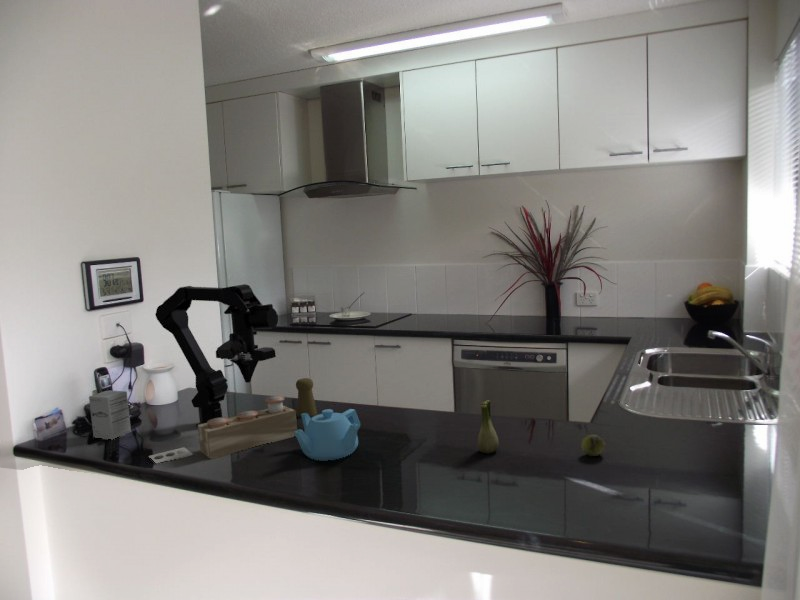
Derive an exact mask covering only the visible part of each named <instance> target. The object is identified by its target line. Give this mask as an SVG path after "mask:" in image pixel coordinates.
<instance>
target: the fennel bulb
mask: <svg viewBox="0 0 800 600" xmlns="http://www.w3.org/2000/svg"><path fill="white" fill-rule="evenodd" d="M480 411H481V421H482V424H481V425H480V426H481V427H480V430H479V432H478V433H479V434H478V437H477V450H478V451H479V452H480V453H482V454H491V453H494V452H496V451H497V450H498V448H499V445H500V442H499V437H498V434H497V432H496V430H495V427H494V426H493V423H492V414H491V400H485V401H483V402H482V403H481V409H480Z"/></svg>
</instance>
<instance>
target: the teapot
mask: <svg viewBox="0 0 800 600" xmlns="http://www.w3.org/2000/svg"><path fill="white" fill-rule="evenodd" d="M356 411H357V410H356V409H352V408H349V409H347V410H345V411H344V412H342V413H341V412H334V410H333V409H331V408H328V409H323V410H321V413H320V414H316V415H314V416H311V417H310V416H309V415H308V414H307V413H303V414H301V417H300V418H301V421H302V425H303V429H300V428H299V429H297V431H295V432H294V433H295V435H296V436H295V437H296V439H297V441H298V443H299V446H300V447H301V448H300V449H301V450H302V452H303V454H304V455H305V456H307V457H308V458H309V459H310V458H311V459H310V460H313V459H314V461H318V460H319V462H320V461H321V462H326V461H327V462H328V460H331V461H336V459H337V460H341V459H344V458H347V457H349V456H351V455H352V454H353V453H354V451H356V449H357V448H358V445H359V437H358V430H359V429H360V427H361V426H362V425H361V421H360V420H359V417H358V414H357V412H356ZM303 430H304V431H303ZM350 454H351V455H350ZM348 455H349V456H348ZM346 456H347V457H346ZM343 457H344V458H343ZM340 458H341V459H340Z"/></svg>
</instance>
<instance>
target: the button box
mask: <svg viewBox="0 0 800 600" xmlns="http://www.w3.org/2000/svg"><path fill="white" fill-rule="evenodd" d="M256 411H257V413H258V415H257V416H256V418H255V419H251V420H247V421H241V420H240V418H238V417H237V415H235V416H230V417H227V418H228V423H226V426H222V427H217V428H213V429H212V428H211V427H210V426H209V425H208V424H207V423H204V424H200V425H198V426H197V432H198V440H199V451H200V453H202V454H204V455H205V456H206V457H208V458H209V459H211V460H212V459H216V458H220V457H223V456H228V455H231V454H235V453H238V451H239V452H242V451H241V450H243V451H246V450H249V449H248V448H250V449H253V448H252V447H254V448H256V447H255V446H258V447H260V446H259V445H261V446H263V445H262V444H265V445H267V444H266V443H269V444H272V443H275V442H280V441H283V440H287V439H290V438H291V439H292V438H294V436H295V437H296V435H295V433H294V432H295V431H297V430H298V421H297V411H296V410H295V409H293V408H290V407H288V406H287V405H284V404H283V412H280V413H276V414H272V415H271V414H269V413H268V408H265V409H261V410H256ZM271 442H272V443H271ZM245 449H246V450H245Z"/></svg>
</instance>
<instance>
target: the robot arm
mask: <svg viewBox="0 0 800 600" xmlns="http://www.w3.org/2000/svg"><path fill="white" fill-rule="evenodd" d="M192 301H202V302H219V303H221V304H223V305H225V306H227V308H226V310H225V311H224V312H223V314H224V315H230V318H231V326H232V333H230V334H229V337H228V338H229V339H228V340H226V341H225V342H223V343H222V344H221V345H220V346H218V347H217V348H216V350H215V358H216V359H221V360H223V359H225V360H228V361H230V362H231V363H234V364H235V365H236V366H237V367H238V369H239V371H240V374H241V375H242V377H243V380H244V382H245V383H250V382H251V381H252V379H253V375H254V372H255V370H256V368H257V366H258V363H259V362H263V361H267V360H271V359H273V358H276V349H274V348H273V347H270V346H269V347H266V346H263V347H259V345H258V344H255V336H256V335H258V333H257V332H258V331H257V330H256V329H259V330H260V329H264V330H265V329H275V328H276V327H277V325H278V322H279V315H278V313H277V311H276V309H275V308H274V305H273V304H272V303H268V304H262V303H261V301H260V300H259V298H258V297H257V296H256V295H255V293H254V291H253V289H252V287H251V286H250V285H249V284H246V283H245V284H238V285H232V286H226V287H209V286H208V287H207V286H191V285H186V286H180V287H178V288H177V289H176V290H175V291H174V293H173V294H172V295H170V296H169V297H168V298H167V299H165V300H164V301H163V303H162V304H160V305H158V306H157V308H156V312H155V318H156V320H157V321H158V323H159V324H160V325H161V326H162V327H163V328H164V330H166V331H168V332H170V334H172V335H173V337H174V339H175V341H176V343H177V344H178V347H179V348H180V350H181V352H182V353H183V356H184V357H185V360H186V361H187V363H188V365H189V366H190V368H191V371H192V373H193V374H194V375H195V388H196V391H197V392H196V394H195V395H194V396H193V398H192V399H191V403H192V407H193V408H198V419H199V422H196V423H195V426H196V427H198V425H200V424H204V423H207V421H209V420H211V419H214V418H220V417H223V410H222V405H221V403H220V402H221V401H224V400H225V397H226V394H227V392H228V388H229V387H228V386H229V385H228V383H227V382H228V379H226V377H225V375H224V373H223V371H222V370H221V369H218V370H215V369H214V368H213V367H211V365H210V363H209V362H208V359H207V358H206V356H205V354H204V352H203V351H202V348H201V347H200V345H199V343H198V342H197V340H196V338H195V336H194V335H193V332H192V331H191V328H190V326H189V315H188V312H187V311H188V310H189V309H190V307H191V305H192V303H193V302H192Z"/></svg>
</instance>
